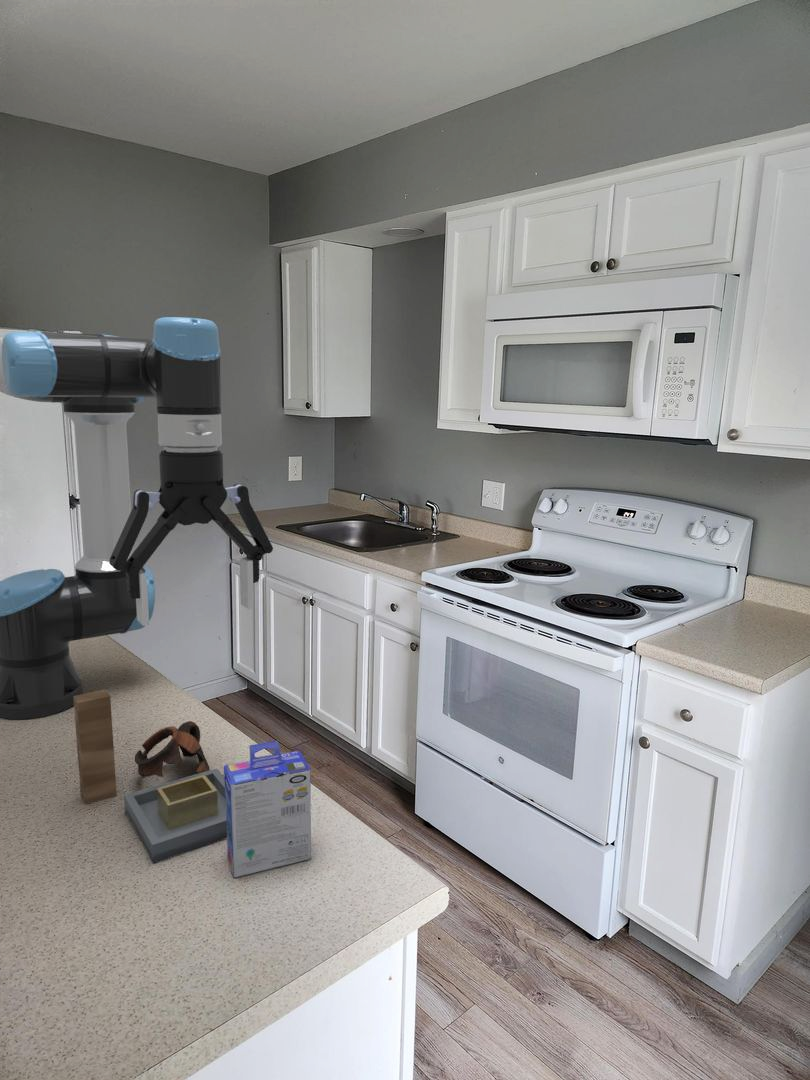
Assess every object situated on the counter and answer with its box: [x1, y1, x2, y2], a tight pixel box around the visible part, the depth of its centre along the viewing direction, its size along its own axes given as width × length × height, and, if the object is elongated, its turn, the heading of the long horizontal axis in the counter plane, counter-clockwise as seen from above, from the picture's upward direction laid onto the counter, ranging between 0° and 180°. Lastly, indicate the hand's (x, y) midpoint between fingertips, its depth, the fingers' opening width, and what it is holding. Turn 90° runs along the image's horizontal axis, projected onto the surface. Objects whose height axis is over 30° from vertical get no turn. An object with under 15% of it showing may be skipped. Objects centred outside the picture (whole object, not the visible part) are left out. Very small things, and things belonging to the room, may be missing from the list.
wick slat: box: [73, 689, 118, 805], centre depth 101 cm, size 3×4×15 cm, turn 125°
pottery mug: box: [134, 720, 210, 778], centre depth 109 cm, size 12×10×8 cm
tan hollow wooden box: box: [157, 775, 218, 830], centre depth 97 cm, size 5×6×4 cm
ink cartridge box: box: [223, 740, 312, 878], centre depth 89 cm, size 10×6×14 cm, turn 114°
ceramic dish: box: [123, 768, 227, 864], centre depth 97 cm, size 13×13×2 cm
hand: (197, 614), depth 94 cm, fingers open, 13 cm apart
